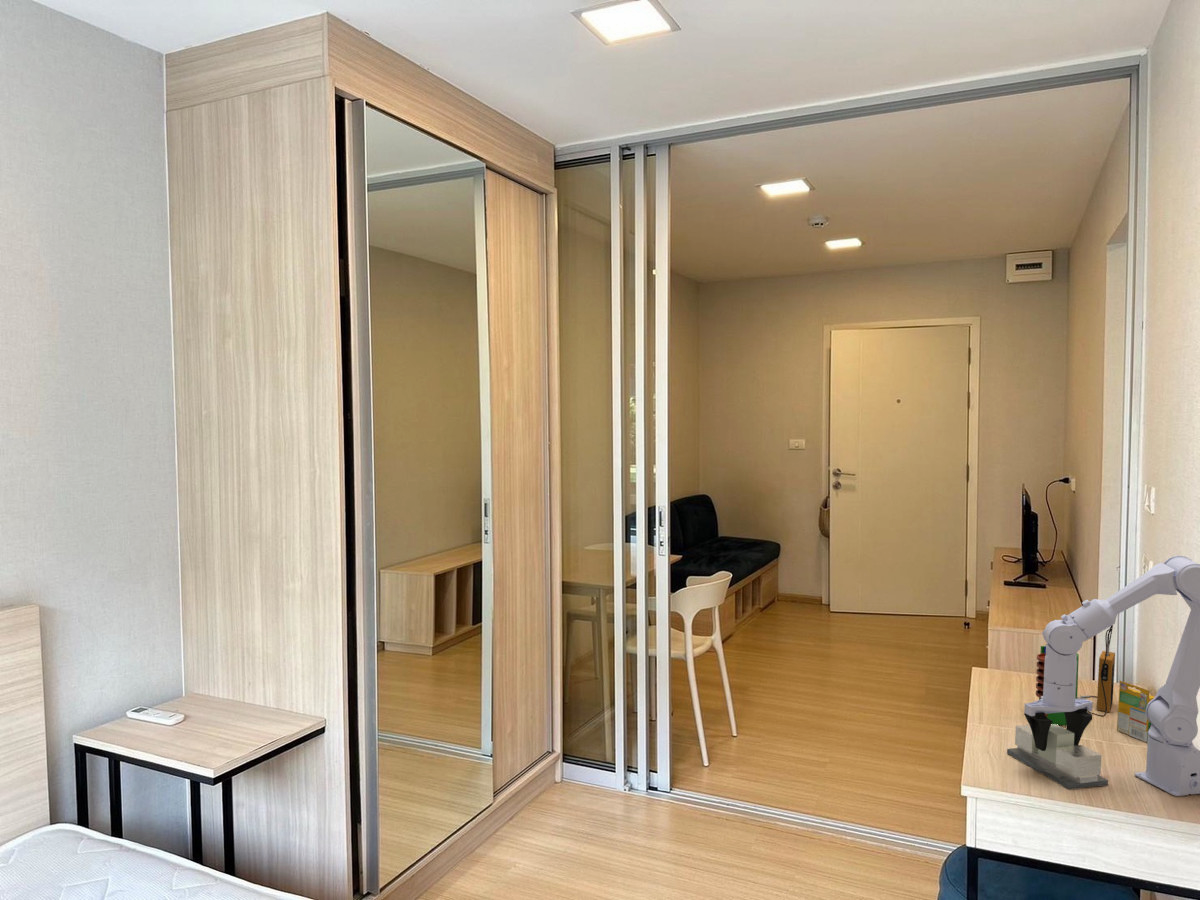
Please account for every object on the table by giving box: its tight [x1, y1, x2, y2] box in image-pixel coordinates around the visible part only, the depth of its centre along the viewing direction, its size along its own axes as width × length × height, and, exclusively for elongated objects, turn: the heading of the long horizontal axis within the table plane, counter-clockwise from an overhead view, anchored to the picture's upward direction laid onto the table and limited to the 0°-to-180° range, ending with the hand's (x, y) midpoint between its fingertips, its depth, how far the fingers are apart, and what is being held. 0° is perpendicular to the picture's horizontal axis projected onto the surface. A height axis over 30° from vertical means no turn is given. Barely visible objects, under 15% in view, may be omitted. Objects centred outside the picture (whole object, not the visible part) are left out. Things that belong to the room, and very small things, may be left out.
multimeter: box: [1077, 624, 1116, 717], centre depth 211 cm, size 15×10×20 cm
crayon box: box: [1116, 680, 1155, 743], centre depth 192 cm, size 7×3×12 cm, turn 20°
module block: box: [1038, 724, 1074, 764], centre depth 174 cm, size 5×4×6 cm
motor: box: [1035, 645, 1080, 725], centre depth 202 cm, size 10×9×20 cm
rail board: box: [1006, 724, 1109, 790], centre depth 174 cm, size 17×9×6 cm, turn 14°
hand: (1056, 747), depth 174 cm, fingers open, 7 cm apart
